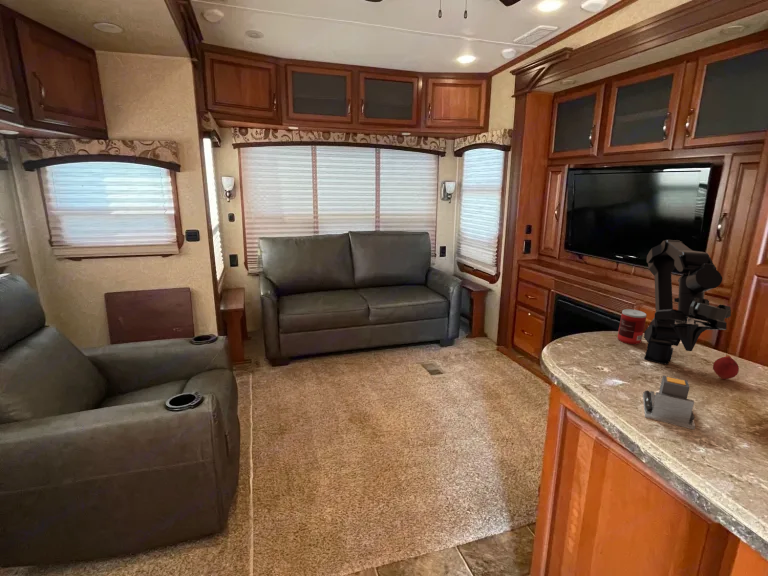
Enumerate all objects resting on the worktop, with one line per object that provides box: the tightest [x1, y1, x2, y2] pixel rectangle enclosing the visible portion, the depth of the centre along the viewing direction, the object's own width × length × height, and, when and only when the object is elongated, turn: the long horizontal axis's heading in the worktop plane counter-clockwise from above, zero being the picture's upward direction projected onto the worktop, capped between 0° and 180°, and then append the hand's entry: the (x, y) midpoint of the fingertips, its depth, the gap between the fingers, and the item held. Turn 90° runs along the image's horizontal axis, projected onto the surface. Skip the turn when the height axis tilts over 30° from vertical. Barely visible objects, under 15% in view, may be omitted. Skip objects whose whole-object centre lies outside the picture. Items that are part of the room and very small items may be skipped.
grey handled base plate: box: [642, 390, 696, 431], centre depth 100 cm, size 12×10×7 cm
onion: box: [712, 353, 740, 381], centre depth 117 cm, size 6×6×8 cm
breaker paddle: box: [659, 375, 690, 399], centre depth 98 cm, size 4×5×9 cm
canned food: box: [617, 308, 647, 345], centre depth 145 cm, size 8×8×11 cm
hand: (688, 351), depth 108 cm, fingers closed
